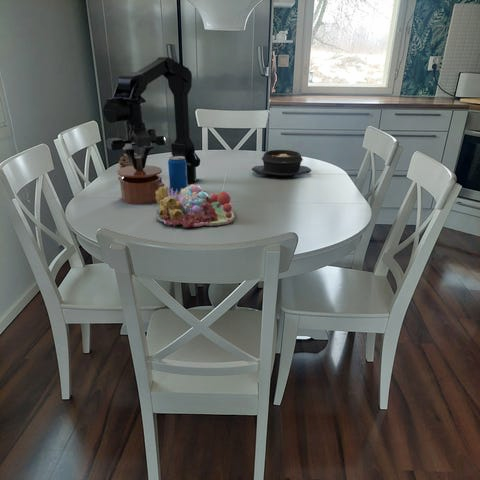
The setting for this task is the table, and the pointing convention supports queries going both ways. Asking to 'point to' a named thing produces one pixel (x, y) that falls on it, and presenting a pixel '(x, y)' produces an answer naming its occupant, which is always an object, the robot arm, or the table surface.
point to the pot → (140, 189)
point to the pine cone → (126, 161)
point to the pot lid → (139, 170)
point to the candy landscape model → (193, 207)
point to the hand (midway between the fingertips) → (139, 168)
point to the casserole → (281, 164)
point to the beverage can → (177, 173)
